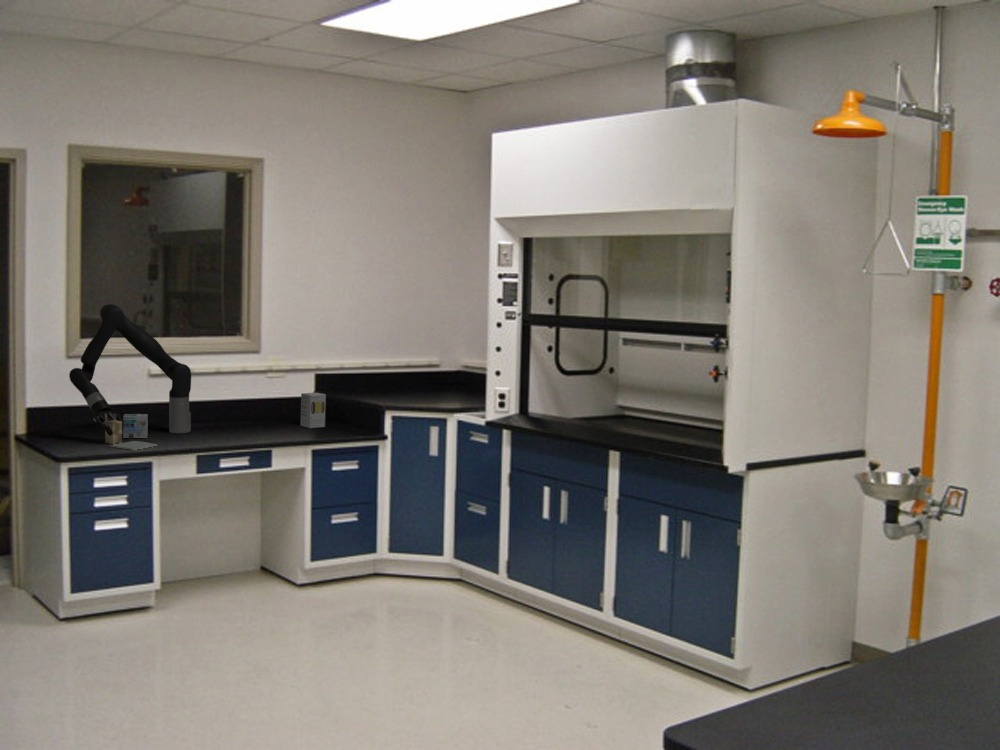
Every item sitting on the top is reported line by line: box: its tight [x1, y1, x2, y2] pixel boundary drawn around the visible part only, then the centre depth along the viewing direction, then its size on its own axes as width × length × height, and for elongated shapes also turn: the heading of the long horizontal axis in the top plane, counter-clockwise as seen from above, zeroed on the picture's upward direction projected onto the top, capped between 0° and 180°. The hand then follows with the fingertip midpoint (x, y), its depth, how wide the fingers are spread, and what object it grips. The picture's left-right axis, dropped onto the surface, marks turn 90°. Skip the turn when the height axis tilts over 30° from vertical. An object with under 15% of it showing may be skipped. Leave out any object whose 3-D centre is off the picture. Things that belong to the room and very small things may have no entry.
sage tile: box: [109, 440, 158, 451], centre depth 478 cm, size 14×14×1 cm
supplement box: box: [300, 392, 327, 429], centre depth 549 cm, size 10×9×17 cm
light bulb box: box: [122, 413, 149, 439], centre depth 499 cm, size 11×7×11 cm, turn 105°
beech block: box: [104, 420, 123, 445], centre depth 484 cm, size 5×5×10 cm
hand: (116, 433), depth 483 cm, fingers closed on beech block, 5 cm apart
